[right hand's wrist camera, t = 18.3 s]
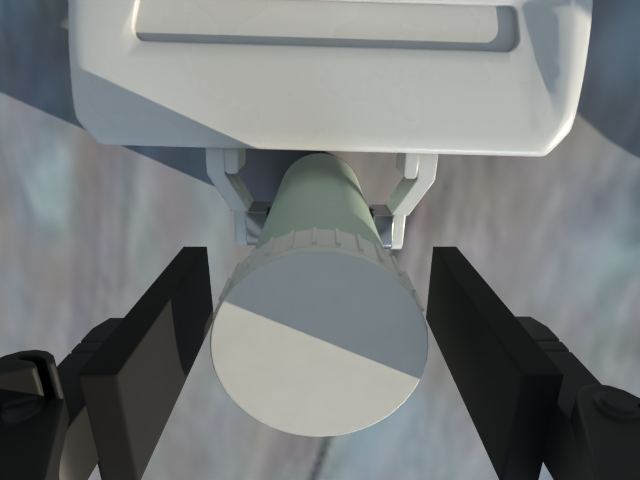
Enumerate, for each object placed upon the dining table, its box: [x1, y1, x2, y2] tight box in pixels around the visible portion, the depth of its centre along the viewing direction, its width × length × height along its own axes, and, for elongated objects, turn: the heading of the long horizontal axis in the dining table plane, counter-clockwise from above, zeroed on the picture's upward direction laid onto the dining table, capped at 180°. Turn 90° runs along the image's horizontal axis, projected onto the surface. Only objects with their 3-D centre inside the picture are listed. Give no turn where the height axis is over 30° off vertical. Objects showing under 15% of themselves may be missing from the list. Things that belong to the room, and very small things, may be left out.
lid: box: [210, 227, 428, 436], centre depth 11 cm, size 6×6×2 cm
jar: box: [255, 153, 386, 253], centre depth 19 cm, size 5×5×16 cm
